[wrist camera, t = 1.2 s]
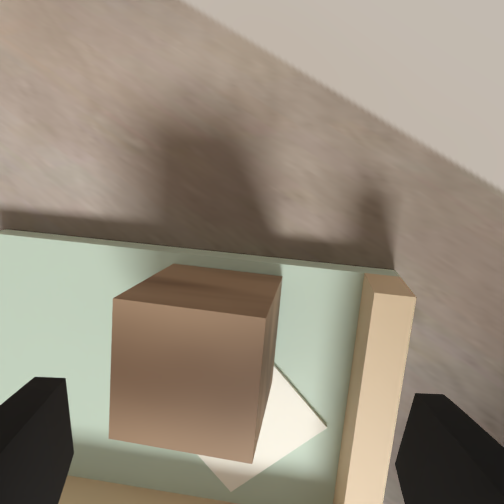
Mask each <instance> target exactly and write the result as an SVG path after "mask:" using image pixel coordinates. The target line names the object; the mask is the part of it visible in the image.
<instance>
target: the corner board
mask: <svg viewBox="0 0 504 504" xmlns="http://www.w3.org/2000/svg"><path fill="white" fill-rule="evenodd" d="M172 264H182V265H190V266H199V267H207V268H216V269H224V270H233V271H241V272H250V273H258V274H267V275H275V276H283V278H282V288H281V298H280V308H279V318H278V328H277V338H276V348H275V358H274V369H273V379H272V385H271V389H270V393H269V397H268V401H267V405H266V409H265V414H264V418H263V422H262V426H261V430H260V434H259V438H258V442H257V446H256V451H255V455H254V459H253V463H252V464H249V463H243V462H237V461H232V460H226V459H220V458H215V457H209V456H203V455H198V454H192V453H187V452H181V451H175V450H170V449H164V448H158V447H153V446H147V445H141V444H136V443H130V442H124V441H119V440H113V439H109V407H110V374H111V341H112V307H113V298H114V297H116V296H118V295H119V294H121V293H123V292H125V291H126V290H128V289H130V288H132V287H133V286H135V285H137V284H139V283H140V282H142V281H144V280H146V279H147V278H149V277H151V276H153V275H154V274H156V273H158V272H159V271H161V270H163V269H165V268H166V267H168V266H170V265H172ZM416 298H417V297H416V296H415V295H414V294H413V292H412V291H411V290H410V289H409V287H408V286H407V285H406V284H405V282H404V281H403V280H402V279H401V277H400V276H399V275H398V274H397V272H396V271H395V270H389V269H379V268H370V267H360V266H351V265H341V264H332V263H322V262H313V261H303V260H294V259H284V258H275V257H265V256H256V255H246V254H237V253H227V252H218V251H208V250H199V249H189V248H180V247H170V246H161V245H151V244H142V243H132V242H123V241H113V240H104V239H94V238H85V237H75V236H66V235H56V234H47V233H37V232H28V231H18V230H9V229H5V230H0V405H1V404H2V403H3V402H5V401H6V400H7V399H8V398H9V397H11V396H12V395H13V394H14V393H15V392H17V391H18V390H19V389H20V388H21V387H23V386H24V385H25V384H26V383H28V382H29V381H30V380H31V379H33V378H34V377H54V378H66V386H67V394H68V403H69V412H70V421H71V430H72V438H73V447H74V455H73V458H72V462H71V465H70V468H69V472H68V475H67V478H66V481H65V485H64V488H63V491H62V494H61V497H60V500H59V503H58V504H383V499H384V493H385V487H386V481H387V474H388V468H389V462H390V456H391V450H392V444H393V438H394V432H395V426H396V420H397V414H398V407H399V401H400V395H401V389H402V383H403V377H404V371H405V365H406V359H407V353H408V347H409V341H410V334H411V328H412V322H413V316H414V310H415V304H416Z"/></svg>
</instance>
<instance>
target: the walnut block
mask: <svg viewBox="0 0 504 504" xmlns="http://www.w3.org/2000/svg"><path fill="white" fill-rule="evenodd" d="M282 278H283V276H275V275H267V274H258V273H250V272H241V271H233V270H224V269H216V268H207V267H199V266H190V265H182V264H172V265H170V266H168V267H166V268H165V269H163V270H161V271H159V272H158V273H156V274H154V275H153V276H151V277H149V278H147V279H146V280H144V281H142V282H140V283H139V284H137V285H135V286H133V287H132V288H130V289H128V290H126V291H125V292H123V293H121V294H119V295H118V296H116V297H114V298H113V307H112V341H111V374H110V407H109V439H113V440H119V441H124V442H130V443H136V444H141V445H147V446H153V447H158V448H164V449H170V450H175V451H181V452H187V453H192V454H198V455H203V456H209V457H215V458H220V459H226V460H232V461H237V462H243V463H249V464H252V463H253V459H254V455H255V451H256V446H257V442H258V438H259V434H260V430H261V426H262V422H263V418H264V414H265V409H266V405H267V401H268V397H269V393H270V389H271V385H272V379H273V369H274V358H275V348H276V338H277V328H278V318H279V308H280V298H281V288H282Z"/></svg>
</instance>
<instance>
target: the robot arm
mask: <svg viewBox="0 0 504 504" xmlns="http://www.w3.org/2000/svg"><path fill="white" fill-rule="evenodd" d="M73 455H74V447H73V438H72V430H71V421H70V412H69V403H68V394H67V386H66V378H54V377H34V378H33V379H31V380H30V381H29V382H28V383H26V384H25V385H24V386H23V387H21V388H20V389H19V390H18V391H17V392H15V393H14V394H13V395H12V396H11V397H9V398H8V399H7V400H6V401H5V402H3V403H2V404H1V405H0V504H58V503H59V500H60V497H61V494H62V491H63V488H64V485H65V481H66V478H67V475H68V472H69V468H70V465H71V462H72V458H73ZM395 466H396V470H397V474H398V478H399V482H400V486H401V491H402V494H403V498H404V502H405V504H504V447H502V446H501V445H500V444H499V443H498V442H497V441H496V440H495V439H494V438H492V437H491V436H490V435H489V434H488V433H487V432H486V431H485V430H484V429H482V428H481V427H480V426H479V425H478V424H477V423H476V422H475V421H474V420H472V419H471V418H470V417H469V416H468V415H467V414H466V413H465V412H463V411H462V410H461V409H460V408H459V407H458V406H457V405H455V404H454V403H453V402H452V401H451V400H450V399H448V398H447V397H446V396H445V395H442V394H419V393H415V396H414V400H413V403H412V407H411V410H410V414H409V417H408V421H407V424H406V427H405V431H404V434H403V438H402V441H401V445H400V448H399V452H398V455H397V459H396V462H395Z"/></svg>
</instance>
